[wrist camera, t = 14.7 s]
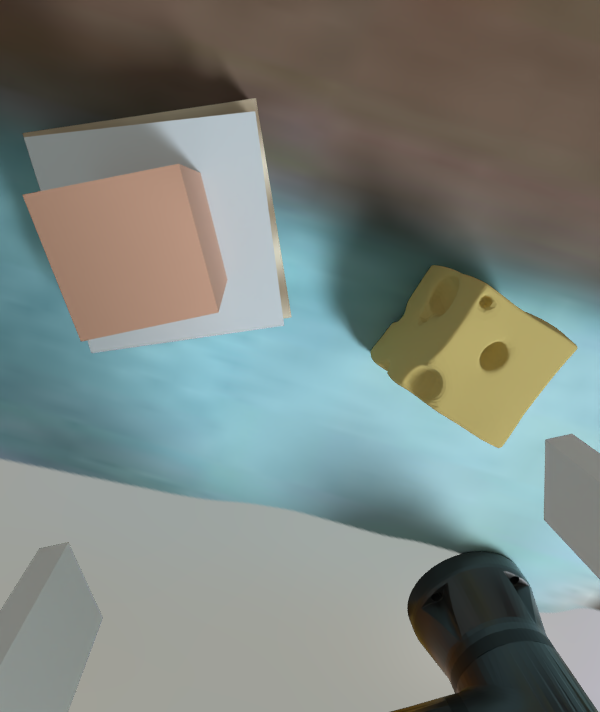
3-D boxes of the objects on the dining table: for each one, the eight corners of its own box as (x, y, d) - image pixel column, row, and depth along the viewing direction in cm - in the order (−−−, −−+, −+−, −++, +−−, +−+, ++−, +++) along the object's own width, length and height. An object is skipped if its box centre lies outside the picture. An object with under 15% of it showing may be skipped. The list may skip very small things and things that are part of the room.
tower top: (280, 311, 36) (284, 325, 32) (108, 336, 35) (91, 353, 31) (254, 121, 30) (255, 111, 27) (52, 144, 30) (23, 137, 26)
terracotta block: (227, 279, 30) (218, 312, 22) (128, 300, 30) (80, 341, 22) (200, 172, 28) (178, 163, 19) (92, 194, 27) (22, 194, 19)
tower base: (287, 305, 40) (291, 317, 36) (112, 336, 39) (97, 351, 35) (254, 108, 34) (255, 98, 30) (47, 139, 33) (22, 133, 29)
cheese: (366, 352, 41) (400, 398, 32) (433, 254, 39) (491, 274, 29) (447, 399, 44) (500, 454, 35) (515, 311, 42) (591, 345, 32)
